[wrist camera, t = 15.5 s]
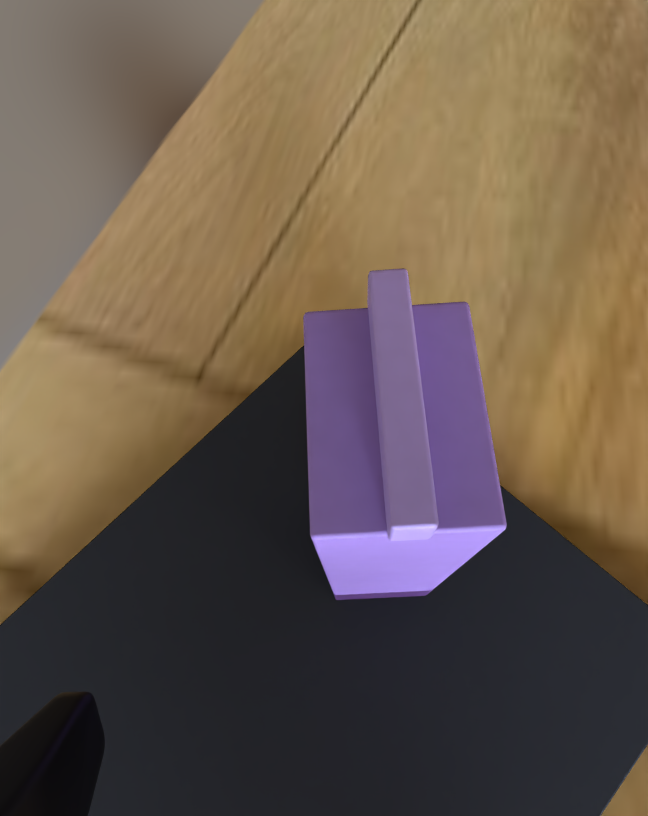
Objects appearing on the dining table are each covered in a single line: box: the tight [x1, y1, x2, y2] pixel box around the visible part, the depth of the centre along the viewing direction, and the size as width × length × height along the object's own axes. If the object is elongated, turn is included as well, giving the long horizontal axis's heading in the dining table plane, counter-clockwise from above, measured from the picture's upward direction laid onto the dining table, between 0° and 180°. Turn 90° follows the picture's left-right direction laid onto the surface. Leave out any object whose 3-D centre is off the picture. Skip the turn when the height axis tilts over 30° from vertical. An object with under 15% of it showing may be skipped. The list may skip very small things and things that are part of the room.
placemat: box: [0, 346, 648, 816], centre depth 19 cm, size 18×21×1 cm
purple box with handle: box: [303, 269, 507, 600], centre depth 15 cm, size 5×3×12 cm
